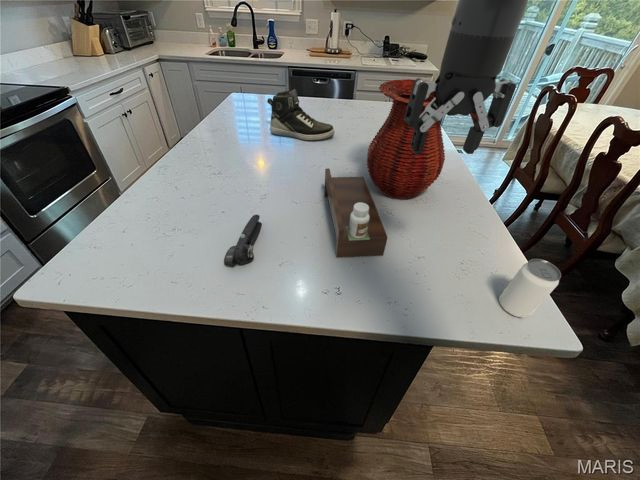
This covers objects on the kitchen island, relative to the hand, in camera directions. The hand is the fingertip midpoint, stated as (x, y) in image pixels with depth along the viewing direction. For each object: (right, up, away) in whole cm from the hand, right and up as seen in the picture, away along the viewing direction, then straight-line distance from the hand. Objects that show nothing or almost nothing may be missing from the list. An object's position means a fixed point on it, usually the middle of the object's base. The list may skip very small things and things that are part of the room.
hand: (442, 152), depth 47 cm
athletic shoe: (-28, +31, +79) cm, 89 cm away
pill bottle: (-11, -12, +24) cm, 29 cm away
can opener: (-38, -16, +29) cm, 50 cm away
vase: (+6, +3, +51) cm, 52 cm away
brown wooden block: (-11, -9, +37) cm, 39 cm away
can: (+23, -29, +17) cm, 40 cm away
